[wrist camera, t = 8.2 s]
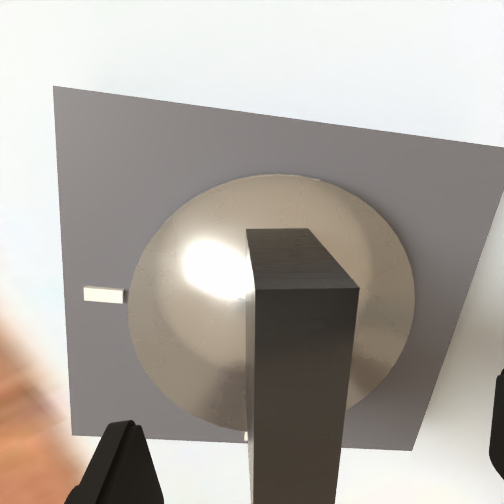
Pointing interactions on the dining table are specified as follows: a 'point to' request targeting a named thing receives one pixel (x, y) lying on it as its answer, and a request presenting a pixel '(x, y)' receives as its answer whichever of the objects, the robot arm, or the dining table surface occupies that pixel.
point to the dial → (273, 320)
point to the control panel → (226, 168)
